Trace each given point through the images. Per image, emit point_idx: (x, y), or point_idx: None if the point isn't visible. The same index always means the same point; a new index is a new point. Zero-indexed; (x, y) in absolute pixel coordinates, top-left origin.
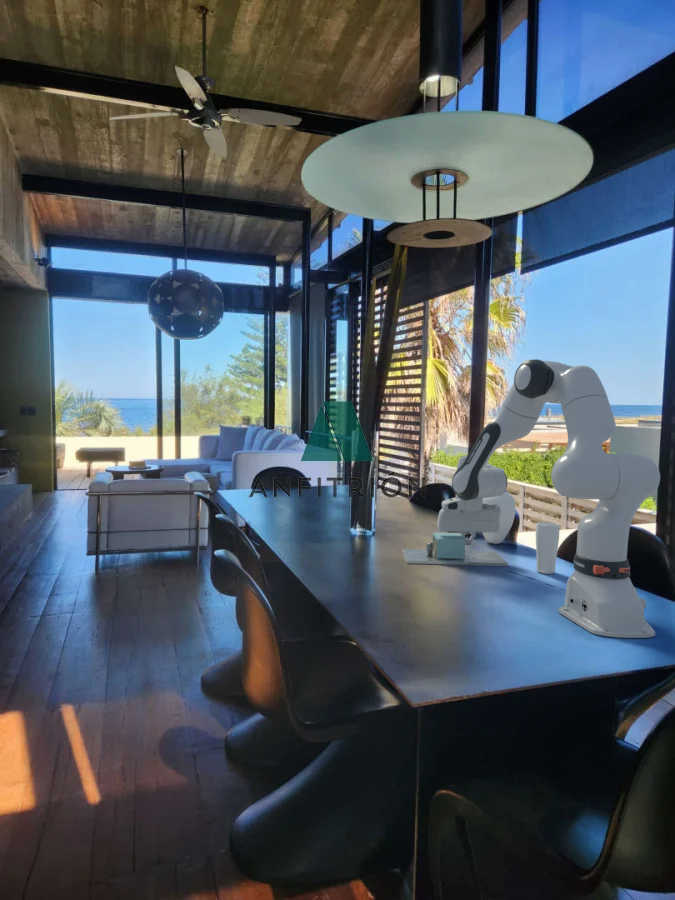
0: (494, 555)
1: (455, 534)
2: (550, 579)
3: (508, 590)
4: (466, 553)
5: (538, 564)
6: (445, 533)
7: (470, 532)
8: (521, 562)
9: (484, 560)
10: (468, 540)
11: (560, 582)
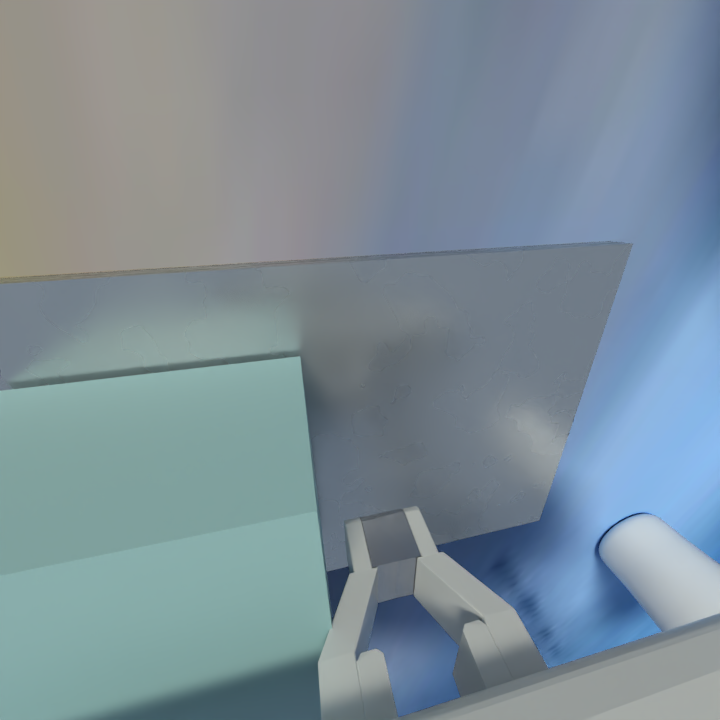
0: (554, 384)
1: (234, 611)
2: (582, 593)
3: (410, 705)
4: (364, 374)
5: (625, 582)
6: (8, 620)
7: (471, 664)
8: (636, 420)
9: (440, 512)
10: (395, 595)
11: (590, 605)
